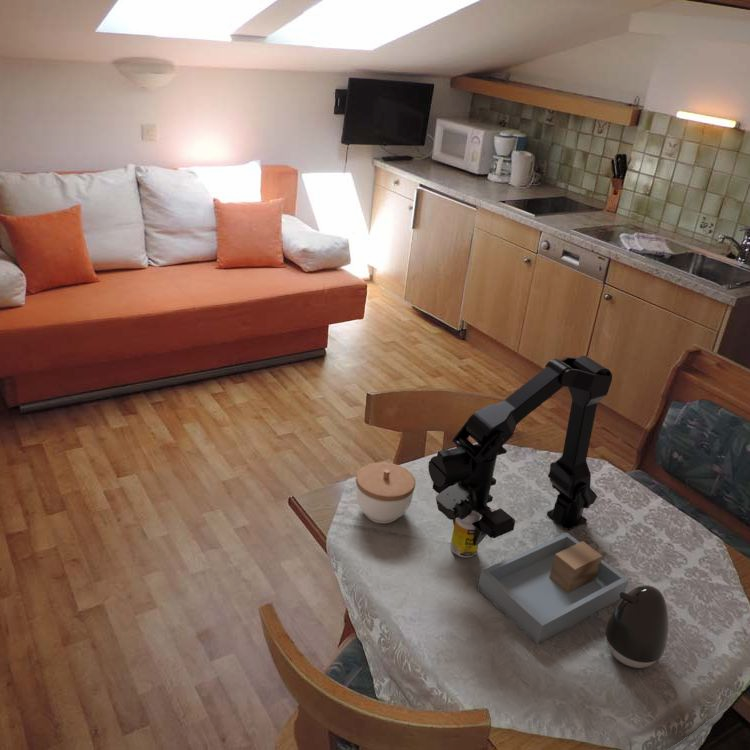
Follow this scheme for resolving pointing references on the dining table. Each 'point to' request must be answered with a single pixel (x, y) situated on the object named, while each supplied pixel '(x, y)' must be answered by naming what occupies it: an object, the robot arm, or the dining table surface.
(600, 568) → the tray
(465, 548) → the supplement bottle
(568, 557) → the walnut box
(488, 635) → the dining table surface
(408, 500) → the lidded bowl
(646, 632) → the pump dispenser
